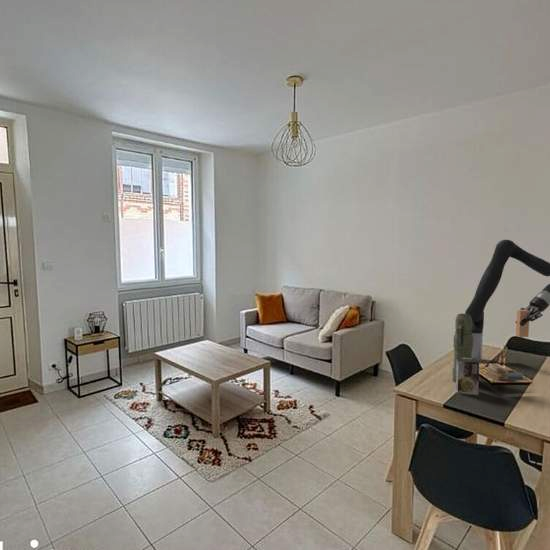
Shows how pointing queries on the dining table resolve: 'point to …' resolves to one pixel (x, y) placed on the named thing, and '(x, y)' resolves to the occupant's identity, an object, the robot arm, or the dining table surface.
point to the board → (520, 330)
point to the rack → (512, 376)
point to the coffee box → (467, 375)
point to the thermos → (462, 339)
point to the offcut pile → (497, 371)
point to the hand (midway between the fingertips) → (518, 324)
